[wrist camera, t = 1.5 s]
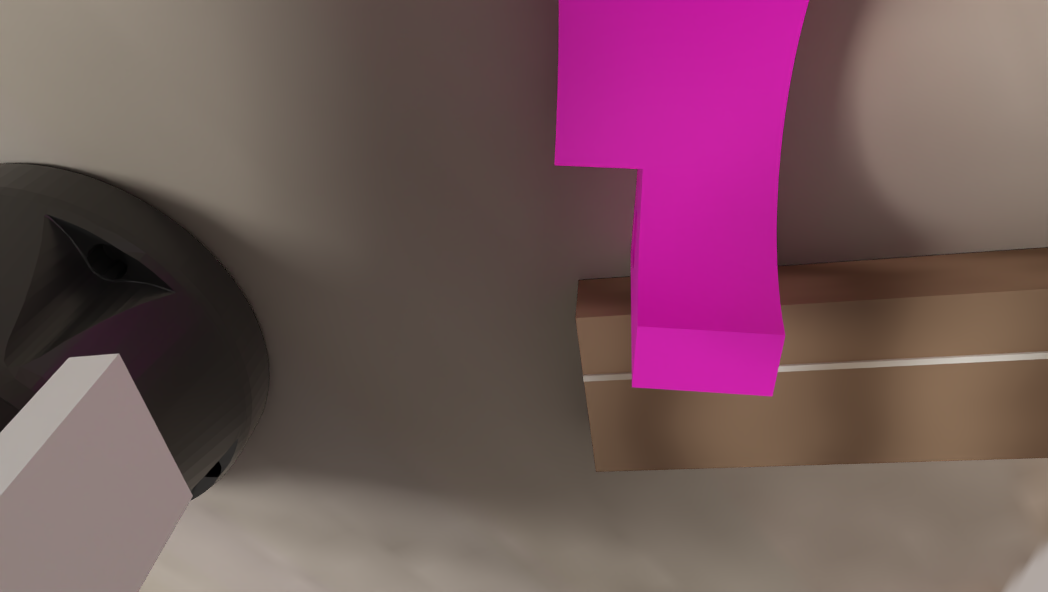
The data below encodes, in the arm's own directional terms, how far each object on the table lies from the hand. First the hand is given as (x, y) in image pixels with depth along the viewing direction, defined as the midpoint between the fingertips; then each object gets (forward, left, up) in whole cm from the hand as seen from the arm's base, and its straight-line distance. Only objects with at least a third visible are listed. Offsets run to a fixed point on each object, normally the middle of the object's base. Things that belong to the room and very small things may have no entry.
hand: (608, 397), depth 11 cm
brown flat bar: (+6, -12, -17) cm, 21 cm away
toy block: (+2, 0, -17) cm, 17 cm away
